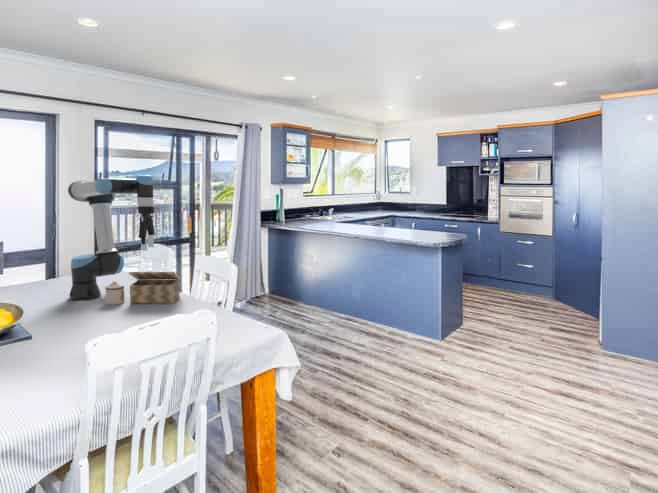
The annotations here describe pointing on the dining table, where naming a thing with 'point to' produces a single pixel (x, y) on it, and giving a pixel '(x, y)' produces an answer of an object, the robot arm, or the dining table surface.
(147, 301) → the wicker basket box
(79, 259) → the robot arm
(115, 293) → the teacup with lid
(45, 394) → the dining table surface
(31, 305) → the dining table surface
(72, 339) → the dining table surface
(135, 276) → the lid flap
